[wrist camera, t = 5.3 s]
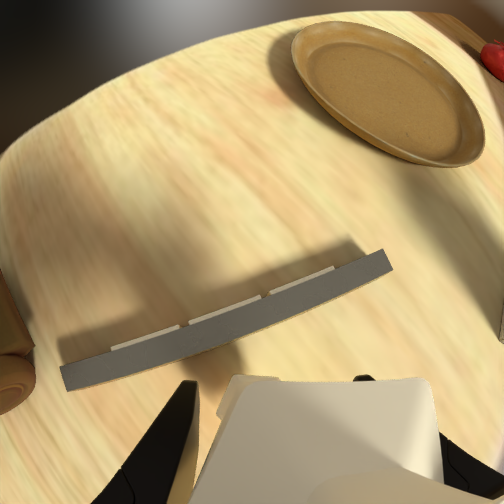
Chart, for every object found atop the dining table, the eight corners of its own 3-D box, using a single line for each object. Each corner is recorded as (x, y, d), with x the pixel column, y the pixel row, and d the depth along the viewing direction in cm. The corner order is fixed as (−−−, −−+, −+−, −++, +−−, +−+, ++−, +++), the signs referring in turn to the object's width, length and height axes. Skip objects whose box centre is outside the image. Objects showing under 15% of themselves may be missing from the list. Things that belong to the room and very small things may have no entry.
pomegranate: (489, 78, 38) (510, 49, 29) (469, 51, 41) (486, 23, 32) (516, 94, 38) (536, 69, 29) (497, 66, 41) (513, 42, 33)
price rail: (379, 277, 20) (393, 269, 19) (80, 389, 16) (67, 391, 14) (368, 254, 21) (380, 244, 19) (72, 362, 16) (57, 362, 15)
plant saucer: (409, 226, 23) (430, 208, 19) (241, 59, 28) (243, 36, 25) (491, 142, 29) (504, 128, 26) (370, 33, 35) (377, 17, 31)
